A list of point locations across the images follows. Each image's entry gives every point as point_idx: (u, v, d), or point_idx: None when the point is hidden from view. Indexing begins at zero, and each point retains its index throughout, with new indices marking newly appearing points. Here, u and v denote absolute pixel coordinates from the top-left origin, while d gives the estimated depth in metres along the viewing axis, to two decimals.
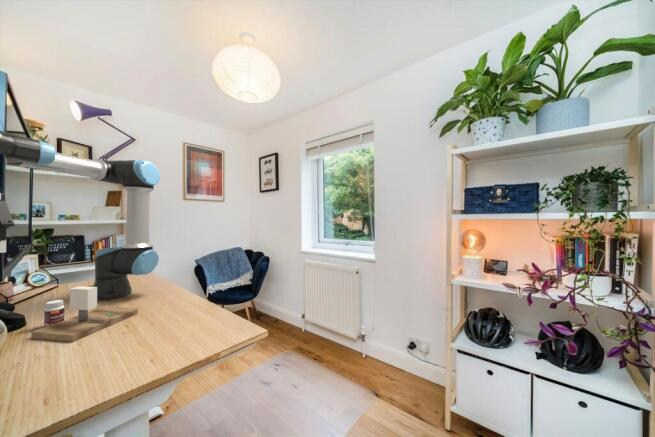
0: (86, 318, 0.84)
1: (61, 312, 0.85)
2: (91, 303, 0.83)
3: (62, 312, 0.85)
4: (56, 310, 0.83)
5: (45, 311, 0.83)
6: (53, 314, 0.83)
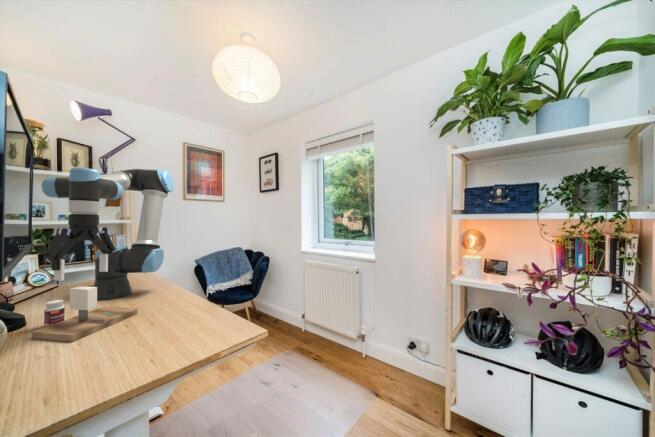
0: (86, 318, 0.84)
1: (61, 312, 0.85)
2: (91, 303, 0.83)
3: (62, 312, 0.85)
4: (56, 310, 0.83)
5: (45, 311, 0.83)
6: (53, 314, 0.83)
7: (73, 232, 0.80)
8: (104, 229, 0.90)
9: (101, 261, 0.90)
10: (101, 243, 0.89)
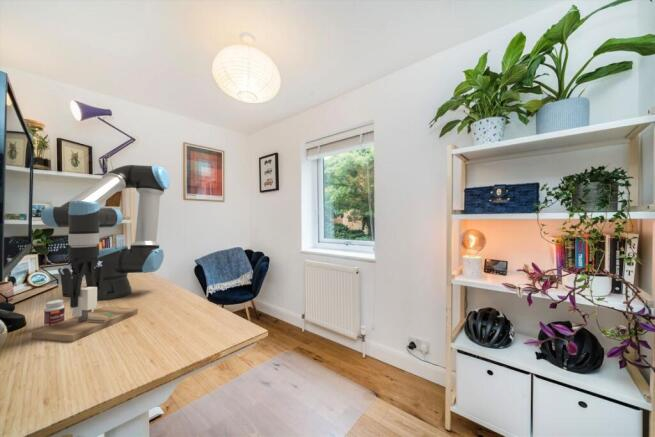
0: (86, 318, 0.84)
1: (61, 312, 0.85)
2: (91, 303, 0.83)
3: (62, 312, 0.85)
4: (56, 310, 0.83)
5: (45, 311, 0.83)
6: (53, 314, 0.83)
7: (74, 267, 0.80)
8: (103, 263, 0.89)
9: None
10: (93, 279, 0.86)
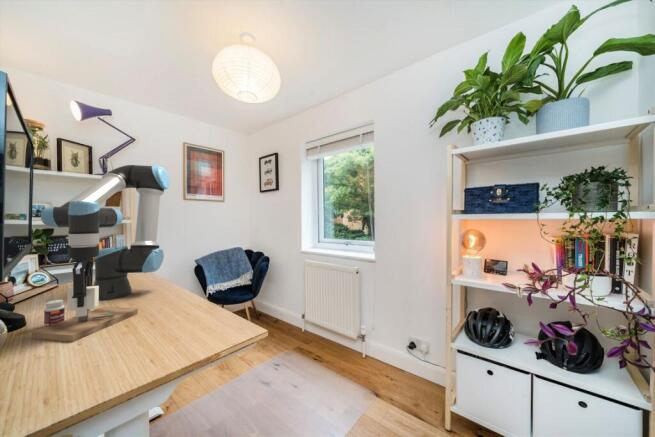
0: (87, 317, 0.85)
1: (61, 312, 0.85)
2: (96, 301, 0.85)
3: (62, 312, 0.85)
4: (56, 310, 0.83)
5: (45, 311, 0.83)
6: (53, 314, 0.83)
7: (84, 266, 0.82)
8: (92, 263, 0.89)
9: None
10: (90, 278, 0.87)
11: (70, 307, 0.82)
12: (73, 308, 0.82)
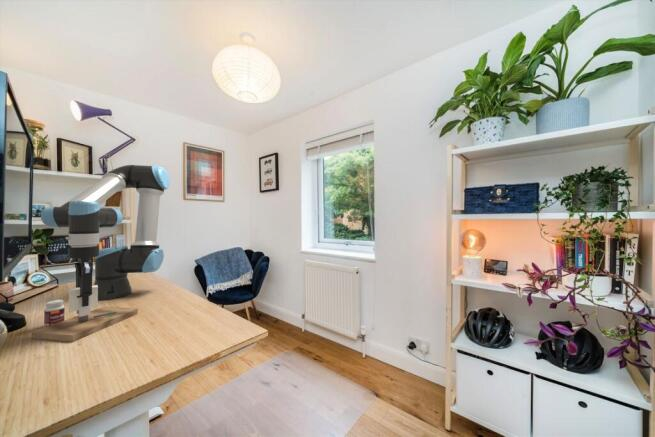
0: None
1: (61, 312, 0.85)
2: None
3: (62, 312, 0.85)
4: (56, 310, 0.83)
5: (45, 311, 0.83)
6: (53, 314, 0.83)
7: (89, 265, 0.83)
8: None
9: None
10: None
11: (72, 308, 0.81)
12: (75, 308, 0.82)
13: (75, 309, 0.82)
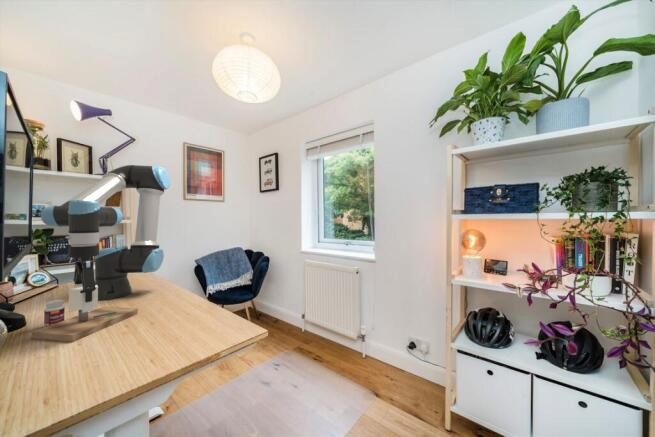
0: None
1: (61, 312, 0.85)
2: None
3: (62, 312, 0.85)
4: (56, 310, 0.83)
5: (45, 311, 0.83)
6: (53, 314, 0.83)
7: None
8: None
9: None
10: None
11: (72, 308, 0.81)
12: (75, 308, 0.82)
13: (75, 309, 0.82)
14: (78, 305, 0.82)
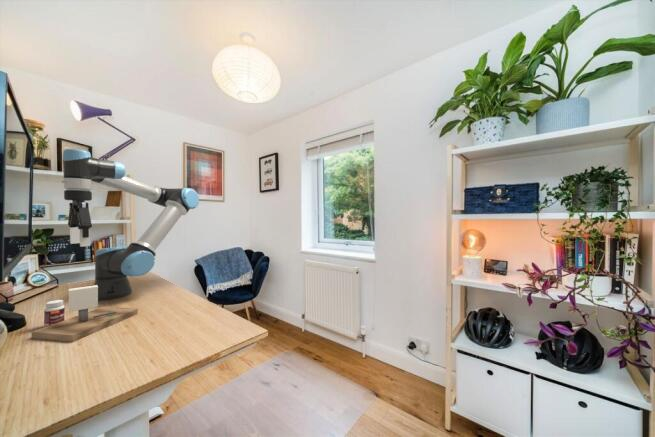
0: None
1: (61, 312, 0.85)
2: None
3: (62, 312, 0.85)
4: (56, 310, 0.83)
5: (45, 311, 0.83)
6: (53, 314, 0.83)
7: None
8: None
9: (72, 234, 0.98)
10: None
11: (72, 308, 0.81)
12: (75, 308, 0.82)
13: (75, 309, 0.82)
14: (78, 305, 0.82)
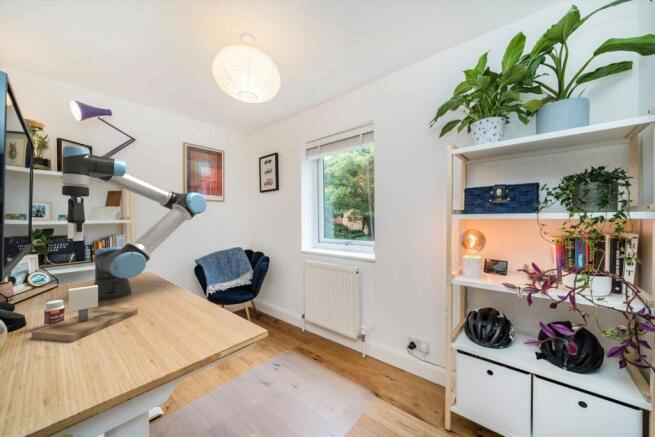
0: None
1: (61, 312, 0.85)
2: None
3: (62, 312, 0.85)
4: (56, 310, 0.83)
5: (45, 311, 0.83)
6: (53, 314, 0.83)
7: None
8: None
9: (70, 229, 1.00)
10: None
11: (72, 308, 0.81)
12: (75, 308, 0.82)
13: (75, 309, 0.82)
14: (78, 305, 0.82)
